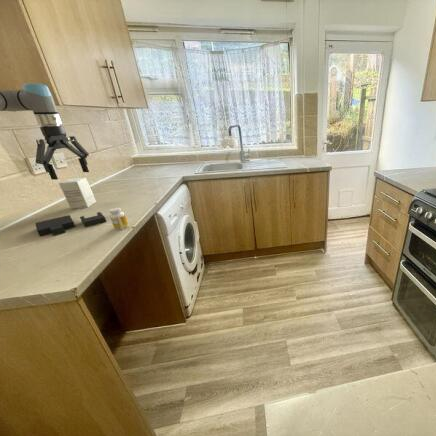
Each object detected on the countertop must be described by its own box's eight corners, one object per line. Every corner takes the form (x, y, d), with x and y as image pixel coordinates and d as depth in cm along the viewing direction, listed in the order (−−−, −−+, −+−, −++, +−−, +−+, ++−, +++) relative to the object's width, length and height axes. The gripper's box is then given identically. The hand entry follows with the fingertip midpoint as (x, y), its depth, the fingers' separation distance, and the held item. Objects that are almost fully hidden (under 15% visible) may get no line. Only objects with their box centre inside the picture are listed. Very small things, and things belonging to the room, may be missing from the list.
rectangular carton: (79, 203, 142) (68, 178, 135) (96, 202, 143) (86, 177, 137) (70, 209, 134) (57, 183, 127) (88, 207, 135) (76, 181, 129)
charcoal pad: (38, 228, 111) (35, 222, 110) (71, 220, 119) (69, 214, 118) (40, 239, 101) (37, 233, 100) (77, 230, 109) (74, 224, 108)
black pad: (82, 222, 117) (79, 216, 115) (102, 217, 122) (100, 211, 121) (86, 228, 110) (83, 222, 109) (106, 222, 116) (104, 217, 114)
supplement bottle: (127, 225, 112) (120, 205, 108) (130, 228, 108) (123, 208, 104) (114, 229, 109) (106, 209, 105) (116, 233, 105) (108, 212, 101)
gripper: (21, 127, 90) (46, 183, 99) (87, 123, 112) (103, 169, 121) (7, 127, 92) (33, 182, 100) (75, 124, 114) (91, 169, 122)
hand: (71, 175), depth 110 cm, fingers open, 13 cm apart
